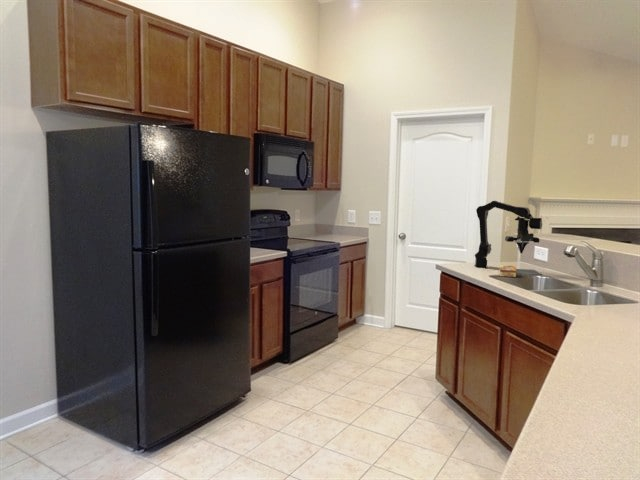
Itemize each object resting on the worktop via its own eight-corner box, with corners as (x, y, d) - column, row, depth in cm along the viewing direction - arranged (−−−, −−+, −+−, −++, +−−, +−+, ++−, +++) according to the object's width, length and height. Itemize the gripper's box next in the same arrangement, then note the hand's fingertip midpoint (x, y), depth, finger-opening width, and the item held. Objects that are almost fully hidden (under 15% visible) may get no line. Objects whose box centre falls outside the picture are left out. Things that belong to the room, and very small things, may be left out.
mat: (515, 274, 284) (515, 273, 284) (508, 269, 299) (508, 268, 299) (542, 275, 283) (542, 274, 283) (534, 270, 297) (534, 269, 297)
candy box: (500, 271, 292) (499, 276, 278) (500, 264, 291) (499, 269, 277) (515, 272, 288) (515, 277, 274) (515, 265, 288) (516, 270, 274)
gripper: (510, 229, 281) (508, 254, 283) (543, 229, 278) (541, 255, 281) (505, 227, 292) (504, 251, 294) (537, 227, 289) (535, 252, 291)
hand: (521, 253), depth 290 cm, fingers closed
